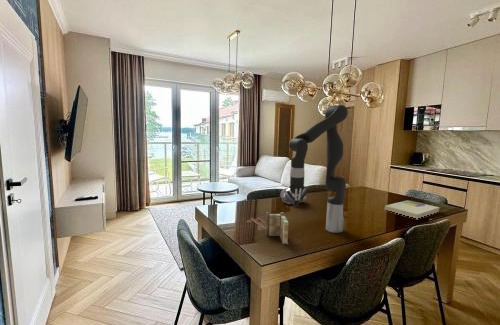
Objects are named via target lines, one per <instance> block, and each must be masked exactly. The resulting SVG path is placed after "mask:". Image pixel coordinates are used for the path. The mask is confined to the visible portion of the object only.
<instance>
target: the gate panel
mask: <svg viewBox="0 0 500 325" xmlns="http://www.w3.org/2000/svg"><path fill="white" fill-rule="evenodd" d="M280 236H281V238H282V241H283V243H287V242H288V237H289V221H288V219H287V217H286V215H284V216H281V228H280ZM280 236H279V237H280ZM281 238H280V239H281ZM282 241H281V242H282ZM283 243H282V244H283ZM288 243H289V242H288Z"/></svg>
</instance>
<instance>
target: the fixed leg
mask: <svg viewBox="0 0 500 325" xmlns="http://www.w3.org/2000/svg"><path fill="white" fill-rule="evenodd" d="M281 216H285V212H283V211H281V212H280V213H270V212H269V211H268V212H265V218H266V220H265V221H266V224H265V226H266V230H265V236H269V235H280V228H281Z"/></svg>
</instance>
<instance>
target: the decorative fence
mask: <svg viewBox="0 0 500 325" xmlns="http://www.w3.org/2000/svg"><path fill="white" fill-rule="evenodd" d="M261 222H262V223H261ZM245 223H255V224H256V225H258V226H259V227H260V228H262V229H263V230H265V231H266V217H261V216H257V218H254V217H252V218H250V219H249V220H245ZM263 223H264V224H265V225H264V224H263Z"/></svg>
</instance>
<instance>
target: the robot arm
mask: <svg viewBox="0 0 500 325" xmlns="http://www.w3.org/2000/svg"><path fill="white" fill-rule="evenodd" d="M348 113H349V111H348V108H347V107H346V106H345V105H341V104H337V105H336V104H335V105H329V106H327V108H326V109H325V113H324V117H325V118H324V119H322V120H321V121H318V122H316V123H315V124H313V125H311V126H310V127H308V128H307V129H306V130H305V131H304V132H302V133H300V134H298V135H296V136H295V137H293V138H292V139H291V140H290V141H289V144H288V148H289V150H291V151H292V152H295V155H293V156H292V157H291V160H290V173H289V180H290V181H289V186H288V187H289V189H288V190H286V191H285V192H286V193H287V194H288V196H289V197H290V198H291V199H292V200H294V201H293V204H292V205H293V206H294V208H299V206H300V203H299V200H300V199H303V198H304V196H305V197H306V196H307V194H308V192H309V190H308V189H307V188H306V187H305V159H306V157H307V153H308V149H309V147H308V146H309V145H308V144H312V143H313V142H314V141H315V140H317V139H318V138H319V137H320V136H322V135H323V134H324V133H325V132H326V174H325V188H326V190H327V191H329V192H333V193H335V195H333V196H328V198H327V201H326V203H327V204H326V217H325V218H326V219H325V230H326V231H328V232H330V233H335V234H337V233H338V234H339V233H342V232H343V231H344V219H345V217H344V215H343V213H344V212H343V211H344V201H345V197H346V187H347V181H346V179H345V178H344V177H341V176H336V175H335V170H336V168H337V166H338V164H339V163H340V161H341V160H342V158H343V156H344V143H343V141H342V138H341V136H340V134H339V132H338V127H337V125H338V124H340V123H341V122H343V121H345V120H346V119H347V117H348ZM290 190H291V191H290ZM302 191H303V192H302ZM291 192H292V193H293V196H292V195H291V194H290V193H291Z"/></svg>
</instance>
